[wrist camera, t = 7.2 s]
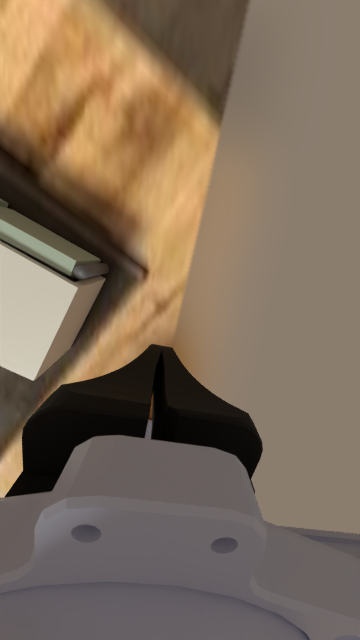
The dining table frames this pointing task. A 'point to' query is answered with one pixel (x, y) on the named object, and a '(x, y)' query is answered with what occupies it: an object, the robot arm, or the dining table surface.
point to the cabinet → (39, 310)
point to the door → (48, 246)
